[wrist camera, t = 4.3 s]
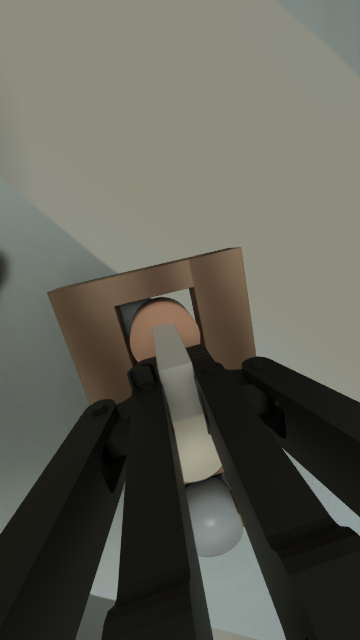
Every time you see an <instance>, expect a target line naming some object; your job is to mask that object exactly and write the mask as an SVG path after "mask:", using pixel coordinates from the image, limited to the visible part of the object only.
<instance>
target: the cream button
mask: <svg viewBox="0 0 360 640" xmlns="http://www.w3.org/2000/svg"><path fill="white" fill-rule="evenodd" d="M202 411H203V410H202ZM173 427H174V431H175V436H176V442H177V447H178V452H179V458H180V463H181V468H182V474H183V479H184V482H197V481H201V480H204V479H206V478H208V477H210V476H212V475H213V474H214V473H216V472H217V471H218V470H219V469H220V468H221V466H222V464H221V462H220V459H219V456H218V454H217V451H216V448H215V445H214V443H213V440H212V437H211V435H210V434H209V435H208V431H207V426H206V422H205V417H204V413H203V414H201V415H198V416H194V417H191V418H187V419H184V420H180V421H177V422H173Z"/></svg>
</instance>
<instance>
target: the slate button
mask: <svg viewBox="0 0 360 640" xmlns="http://www.w3.org/2000/svg"><path fill="white" fill-rule="evenodd" d="M185 490H186V495H187V501H188V506H189V512H190V517H191V522H192V528H193V533H194V538H195V544H196V549H197V555H198V556H201V557H214V556H218V555H221V554H224V553H226V552H228V551H229V550H231V549H232V548H233V547H234V546H236V544H237V543H238V542H239V541H240V539H241V537H242V534H243V526H242V523H241V520H240V517H239V515H238V512H237V509H236V507H235V504H234V501H233V499H232V496H231V493H230V490H229V488H228V486H227V484H226V483H225V482H224V481H223V480H221V479H218V478H214V477H208V478H206V479H204V480H201V481H197V482H193V483H191V484H190V485H189V486H188V487H186V489H185Z"/></svg>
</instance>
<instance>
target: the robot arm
mask: <svg viewBox="0 0 360 640" xmlns="http://www.w3.org/2000/svg"><path fill="white" fill-rule="evenodd" d="M152 329H153V337H154V344H155V351H156V356H155V357H151V358H148V359H144V360H141V361H140V362H139V363H138V365H136V366H134V367H132V368H131V369H130V370H129V371H128V372H127V377H128V380H129V383H130V386H131V389H132V395H131V397H129V398H128V399H126V400H125V401H123V402H121V403H119V404H117V405H116V403H115V401H114V400H112V399H103V400H99V401H96V402H94V403H93V404H92V405H90V406H89V407H88V408H87V409H86V410H85V411H84V412H83V414H82V415H81V417H80V418H79V420H78V421H77V423H76V424H75V426H74V427H73V429H72V430H71V432H70V433H69V434H68V436H67V437H66V439H65V440H64V442H63V443H62V445H61V446H60V448H59V449H58V451H57V452H56V454H55V455H54V456H53V458H52V459H51V461H50V462H49V464H48V465H47V467H46V468H45V470H44V471H43V473H42V474H41V476H40V477H39V478H38V480H37V481H36V483H35V484H34V486H33V487H32V489H31V490H30V492H29V493H28V495H27V496H26V498H25V499H24V500H23V502H22V503H21V505H20V506H19V508H18V509H17V511H16V512H15V514H14V515H13V517H12V518H11V520H10V521H9V522H8V524H7V525H6V527H5V528H4V530H3V531H2V533H1V534H0V640H75V638H76V635H77V632H78V629H79V626H80V623H81V619H82V616H83V613H84V610H85V607H86V603H87V600H88V597H89V594H90V591H91V588H92V585H93V581H94V578H95V575H96V572H97V569H98V565H99V562H100V559H101V556H102V553H103V550H104V546H105V543H106V540H107V537H108V534H109V531H110V527H111V524H112V521H113V518H114V515H115V512H116V508H117V505H118V502H119V499H120V496H121V493H122V489H123V486H124V483H125V494H124V508H123V522H122V536H121V550H120V565H119V579H118V591H117V599H116V602H115V605H114V606H113V607H112V608H111V609H110V610H109V611H108V613H107V616H106V619H105V622H104V626H103V633H102V639H101V640H213V635H212V630H211V625H210V619H209V614H208V608H207V603H206V598H205V592H204V587H203V581H202V576H201V571H200V565H199V560H198V555H197V549H196V544H195V538H194V533H193V528H192V522H191V517H190V512H189V506H188V501H187V495H186V490H185V485H184V479H183V474H182V468H181V463H180V458H179V452H178V447H177V442H176V436H175V431H174V427H173V422H177V421H180V420H184V419H187V418H191V417H194V416H198V415H201V414H203V413H204V417H205V422H206V426H207V431H208V435H209V434H210V435H211V437H212V440H213V443H214V445H215V448H216V451H217V454H218V456H219V459H220V462H221V464H222V467H223V470H224V472H225V475H226V478H227V480H228V483H229V486H230V488H231V491H232V494H233V496H234V499H235V502H236V505H237V507H238V510H239V513H240V515H241V518H242V521H243V523H244V526H245V529H246V531H247V534H248V537H249V539H250V542H251V545H252V547H253V550H254V553H255V556H256V558H257V561H258V564H259V566H260V569H261V572H262V574H263V577H264V580H265V582H266V585H267V588H268V590H269V593H270V596H271V598H272V601H273V604H274V606H275V609H276V612H277V615H278V617H279V620H280V623H281V626H282V628H283V631H284V634H285V637H286V640H360V536H359V535H358V534H357V533H356V532H355V531H353V530H352V529H351V528H350V527H344V526H339V525H338V524H337V523H336V522H335V521H334V520H333V519H332V517H331V516H330V515H329V514H328V512H327V511H326V509H325V508H324V506H323V505H322V504H321V502H320V501H319V499H318V498H317V497H316V495H315V494H314V492H313V491H312V490H311V488H310V487H309V485H308V484H307V483H306V481H305V480H304V478H303V477H302V476H301V474H300V473H299V471H298V470H297V469H296V467H295V466H294V464H293V463H292V462H291V460H290V459H289V457H288V456H287V455H286V453H285V452H284V450H285V451H286V452H288V453H289V454H290V455H291V456H292V457H293V458H294V459H295V460H296V461H298V462H299V463H300V464H301V465H302V466H303V467H304V468H305V469H307V470H308V471H309V472H310V473H311V474H312V475H313V476H314V477H315V478H317V479H318V480H319V481H320V482H321V483H322V484H323V485H324V486H326V487H327V488H328V489H329V490H330V491H331V492H332V493H333V494H334V495H336V496H337V497H338V498H339V499H340V500H341V501H342V502H343V503H345V504H346V505H347V506H348V507H349V508H350V509H351V510H352V511H353V512H355V513H356V514H357V515H358V516H359V517H360V402H358V401H356V400H353V399H351V398H349V397H347V396H345V395H343V394H341V393H339V392H337V391H335V390H333V389H331V388H329V387H326V386H325V385H322V384H320V383H318V382H316V381H314V380H312V379H310V378H308V377H306V376H304V375H302V374H299V373H298V372H296V371H294V370H291V369H289V368H287V367H285V366H283V365H281V364H279V363H277V362H275V361H273V360H271V359H268V358H265V357H252V358H249V359H246V360H245V361H243V363H242V364H241V365H242V369H235V370H228V369H225V368H224V366H223V365H222V364H221V363H218V362H215V361H214V359H213V358H212V356H211V355H210V353H209V352H208V350H207V349H206V347H205V346H203V345H200V344H198V345H194V346H190V347H186V348H185V347H184V344H183V342H182V340H181V338H180V336H179V333H178V331H177V329H176V327H175V325H174V322H170V323H167V324H163V325H159V326H155V327H152ZM202 410H203V411H202ZM281 447H282V448H283V449H284V450H283V449H282V448H281Z"/></svg>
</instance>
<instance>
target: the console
mask: <svg viewBox="0 0 360 640" xmlns="http://www.w3.org/2000/svg"><path fill="white" fill-rule="evenodd" d="M187 288H189V291H190V296H191V300H192V305H193V310H194V315H195V320H196V323H197V325H198V328H199V331H200V344H201V345H203V346H205V347H206V349H207V350H208V352H209V353H210V355H211V356H212V358H213V359H214V361H215V362H218V363H221V364H222V365H223V366H224V368H225V369H228V370H235V369H242V365H241V364H242V363H243V361H245V360H246V359H249V358H252V357H256V351H255V344H254V337H253V330H252V322H251V315H250V308H249V302H248V301H249V300H248V294H247V286H246V279H245V271H244V264H243V256H242V249H241V247H236V248H227V249H223V250H218V251H214V252H210V253H205V254H201V255H197V256H193V257H188V258H184V259H180V260H176V261H171V262H167V263H163V264H159V265H154V266H150V267H146V268H141V269H137V270H133V271H128V272H124V273H120V274H116V275H111V276H107V277H103V278H99V279H94V280H90V281H86V282H81V283H77V284H73V285H69V286H64V287H60V288H57V289H55V290H52V291H50V292H48V293H47V294H48V296H49V299H50V302H51V304H52V307H53V309H54V312H55V315H56V317H57V320H58V322H59V325H60V328H61V330H62V333H63V335H64V338H65V340H66V343H67V346H68V348H69V351H70V353H71V356H72V359H73V361H74V364H75V366H76V369H77V372H78V374H79V377H80V379H81V382H82V385H83V387H84V390H85V392H86V395H87V397H88V400H89V403H90V405H92V404H93V403H94V402H96V401H99V400H103V399H112V400H114V401H115V403H116V405H117V404H119V403H121V402H123V401H125V400H126V399H128V398H129V397H131V395H132V389H131V386H130V383H129V380H128V377H127V372H128V371H129V370H130V369H131V368H132V367H134V366H136V365H138V364H136V361H135V358H134V355H133V353H132V351H131V347H130V341H129V338H128V334H127V331H126V328H125V324H124V321H123V318H122V315H121V311H120V308H119V305H122V304H126V303H130V302H134V301H138V300H142V299H146V298H150V297H154V296H158V295H162V294H166V293H171V292H175V291H178V290H183V289H187ZM223 472H224V470H223V467H222V466H221V468H220V469H219V470H218V471H217V472H216V473H214V474H213V475H216V474H220V473H223ZM213 475H212V476H213ZM188 483H191V482H184V485H185V484H188ZM123 491H124V493H125V483H124V486H123ZM230 493H231V496H232V499H233V501H234V504H235V507H236V509H237V512H238V515H239V517H240V520H241V523H242V526H243V527H244V523H243V521H242V518H241V515H240V513H239V510H238V507H237V505H236V502H235V499H234V496H233V494H232V491H230Z"/></svg>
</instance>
